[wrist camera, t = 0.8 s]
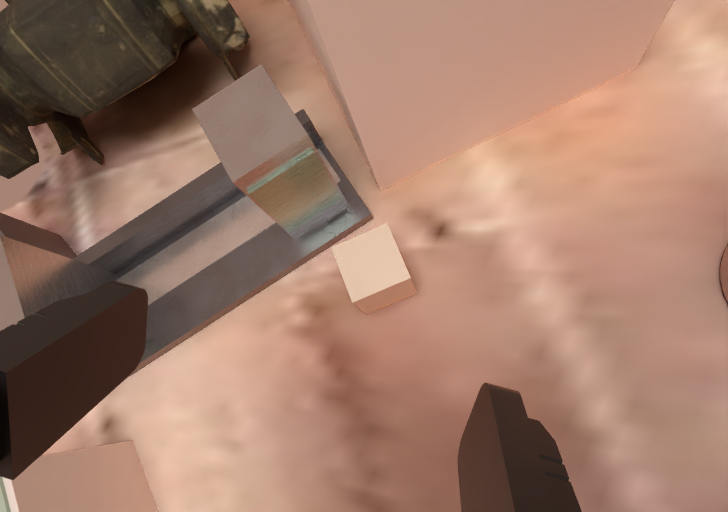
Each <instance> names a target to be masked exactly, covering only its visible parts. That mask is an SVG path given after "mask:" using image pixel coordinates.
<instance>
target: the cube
mask: <svg viewBox="0 0 728 512" xmlns="http://www.w3.org/2000/svg"><path fill="white" fill-rule="evenodd" d="M288 2H289V4H290V6H291V8H292V10H293V12H294V14H295V16H296V18H297V20H298V22H299V24H300V26H301V28H302V30H303V32H304V35H305V37H306V39H307V41H308V43H309V45H310V47H311V49H312V51H313V53H314V55H315V57H316V59H317V61H318V63H319V65H320V68H321V70H322V72H323V74H324V76H325V78H326V80H327V82H328V84H329V86H330V88H331V90H332V92H333V94H334V96H335V98H336V101H337V103H338V105H339V107H340V109H341V111H342V113H343V115H344V117H345V119H346V121H347V123H348V125H349V127H350V129H351V131H352V134H353V136H354V138H355V140H356V142H357V144H358V146H359V148H360V150H361V152H362V154H363V156H364V158H365V160H366V162H367V164H368V167H369V169H370V171H371V173H372V175H373V177H374V179H375V181H376V183H377V185H378V187H379V189H380V191H382V190H384V189H386V188H388V187H390V186H393V185H395V184H397V183H399V182H401V181H403V180H405V179H407V178H409V177H411V176H414V175H416V174H418V173H420V172H422V171H424V170H426V169H428V168H430V167H432V166H434V165H437V164H439V163H441V162H443V161H445V160H447V159H449V158H451V157H453V156H455V155H457V154H460V153H462V152H464V151H466V150H468V149H470V148H472V147H474V146H476V145H478V144H480V143H483V142H485V141H487V140H489V139H491V138H493V137H495V136H497V135H499V134H501V133H503V132H506V131H508V130H510V129H512V128H514V127H516V126H518V125H520V124H522V123H524V122H526V121H529V120H531V119H533V118H535V117H537V116H539V115H541V114H543V113H545V112H547V111H550V110H552V109H554V108H556V107H558V106H560V105H562V104H564V103H566V102H568V101H570V100H573V99H575V98H577V97H579V96H581V95H583V94H585V93H587V92H589V91H591V90H593V89H596V88H598V87H600V86H602V85H604V84H606V83H608V82H610V81H612V80H614V79H616V78H619V77H621V76H623V75H625V74H627V73H629V72H631V71H633V70H635V69H636V67H637V65H638V64H639V62H640V60H641V58H642V57H643V55H644V53H645V51H646V50H647V48H648V46H649V44H650V43H651V41H652V39H653V37H654V36H655V34H656V32H657V30H658V29H659V27H660V25H661V23H662V22H663V20H664V18H665V16H666V14H667V13H668V11H669V9H670V7H671V6H672V4H673V2H674V0H288Z"/></svg>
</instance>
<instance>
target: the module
mask: <svg viewBox="0 0 728 512" xmlns="http://www.w3.org/2000/svg"><path fill="white" fill-rule="evenodd" d="M0 512H158V510H157V508H156V505H155V502H154V499H153V496H152V494H151V491H150V488H149V485H148V482H147V480H146V477H145V474H144V471H143V469H142V466H141V463H140V460H139V457H138V455H137V452H136V449H135V446H134V443H133V441H132V440H131V441H125V442H119V443H113V444H107V445H101V446H95V447H89V448H83V449H77V450H71V451H65V452H59V453H53V454H47V455H41V456H40V457H39V458H38V459H36V460H35V461H34V462H33V463H32V464H31V465H30V466H29V467H28V468H26V469H25V470H24V471H23V472H22V473H21V474H20V475H19V476H18V477H17V478H15V479H14V480H10V479H7V478H4V477H0Z"/></svg>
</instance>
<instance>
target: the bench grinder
mask: <svg viewBox="0 0 728 512" xmlns="http://www.w3.org/2000/svg"><path fill="white" fill-rule="evenodd" d="M5 1H6V2H7V3H8V4H9V5H8V6H7V7H6V8H5V9H3V10H2V11H1V12H0V175H1V176H3V177H6V178H7V179H10V178H12V177H14V176H15V175H17V174H19V173H20V172H22V171H23V170H25V169H27V168H28V167H30V166H32V165H34V164H36V163H38V162H39V156H38V152H37V149H36V147H35V144H34V142H33V139H32V137H31V134H30V132H29V130H28V126H36V125H40V124H43V123H47V124H48V126H49V128H50V129H51V131H52V133H53V134H54V136H55V138H56V140H57V142H58V145H59V147H60V149H61V152H62V153H60V154H62V155H64V154H66V153H67V152H69V151H71V150H72V149H74V148H76V147H78V146H79V147H80V148H81V149H82V150H83V151H84V152H85V153H87V154H88V155H89V156H90V157H91V158H92V159H93V160H94V161H96V162H98V163H100V164H101V163H102V159H103V155H102V153H101V152H99V151H98V150H97V149H96V148H95V146H94V145H93V144H92V142H91V141H90V139H89V137H88V134H87V132H86V129H85V127H84V125H83V123H82V121H81V119H80V118H84V117H86V116H87V115H89V114H91V113H93V112H95V113H97V112H98V111H100V110H101V109H103V108H105V107H106V106H108V105H110V104H111V103H113V102H115V101H116V100H118V99H120V98H121V97H123V96H125V95H126V94H128V93H130V92H131V91H133V90H135V89H136V88H138V87H140V86H141V85H143V84H145V83H146V82H148V81H150V80H151V79H153V78H154V77H155V76H157V75H158V74H160V73H161V72H162V71H164V70H165V69H167V68H168V67H169V66H171V65H172V64H173V63H175V62H176V61H177V58H178V55H179V52H180V48H181V44H182V42H184V41H186V40H187V39H189V38H191V37H192V36H194V35H195V33H196V31H197V33H198V34H199V36H200V37H201V38H202V40H203V41H204V43H205V44H206V45H207V47H208V48H209V49H210V50H211V52H212V53H213V54H215V55H216V56H218V57H221V59H222V60H223V62H224V64H225V65H226V67H227V69H228V70H229V72H230V74H231V75H232V77H233V78H234V80H235V81H236V80H237V78H238V76H237V74H236V73H235V71H234V69H233V67H232V66H231V64H230V62H229V61H228V57H227V55H228V54H229V53H230V52H232V51H233V50H234V51H240V50H242V49H244V44H246V43H247V42H248V38H249V34H248V33H247V31H246V29H245V27H244V25H243V24H242V22H241V20H240V19H239V17H238V15H237V14H236V12H235V11H234V9H233V8H232V6H231V4H230V3H229V1H228V0H5ZM88 146H89V147H90V148H91V149H92V150H93V151H94V152H95V153H96V154H98V156H99V157H98V156H97V155H96V154H95V153H94V152H93V151H92V150H91V149H90V148H89V147H88Z"/></svg>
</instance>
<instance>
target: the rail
mask: <svg viewBox="0 0 728 512" xmlns="http://www.w3.org/2000/svg"><path fill="white" fill-rule="evenodd" d="M192 110H193V112H194V114H195V116H196V117H197V119H198V121H199V123H200V125H201V126H202V128H203V130H204V132H205V134H206V135H207V137H208V139H209V141H210V143H211V144H212V146H213V148H214V150H215V152H216V154H217V155H218V157H219V159H220V161H221V163H219V164H218V165H216V166H215V167H213V168H212V169H210V170H209V171H207V172H205V173H204V174H202V175H201V176H199V177H198V178H196V179H195V180H193V181H192V182H190V183H189V184H187V185H185V186H184V187H182V188H181V189H179V190H178V191H176V192H175V193H173V194H172V195H170V196H169V197H167V198H166V199H164V200H162V201H161V202H159V203H158V204H156V205H155V206H153V207H152V208H150V209H149V210H147V211H146V212H144V213H143V214H141V215H139V216H138V217H136V218H135V219H133V220H132V221H130V222H129V223H127V224H126V225H124V226H123V227H121V228H119V229H118V230H116V231H115V232H113V233H112V234H110V235H109V236H107V237H106V238H104V239H103V240H101V241H100V242H98V243H96V244H95V245H93V246H92V247H90V248H89V249H87V250H86V251H84V252H83V253H81V254H80V255H78V256H77V257H75V258H73V259H71V258H68V257H64V256H61V255H58V254H55V253H52V252H49V251H46V250H43V249H40V248H37V247H34V246H31V245H28V244H25V243H22V242H19V241H16V240H13V239H10V238H7V237H4V236H1V235H0V331H1V330H3V329H5V328H7V327H9V326H10V325H12V324H15V325H16V324H17V323H18V321H20V320H22V319H24V318H25V317H27V316H29V315H34V314H35V312H37V311H39V310H41V309H42V308H44V307H46V306H48V305H50V304H52V303H54V302H56V301H59V300H63V299H67V298H70V297H74V296H78V295H81V294H83V295H84V294H86V293H88V292H90V291H92V290H94V289H95V288H97V287H99V286H101V285H103V284H104V283H106V282H108V281H117V282H121V283H124V284H128V285H132V286H136V287H139V288H143V289H145V290H146V292H147V294H148V310H147V327H146V343H145V350H144V354H143V356H142V359H141V361H140V363H139V365H138V366H137V368H136V369H135V370H134V371H133V372H132V373H131V374H130V375H132V374H133V373H135V372H136V371H138V370H139V369H141V368H142V367H144V366H146V365H147V364H149V363H150V362H152V361H153V360H155V359H156V358H158V357H160V356H161V355H163V354H164V353H166V352H167V351H169V350H170V349H172V348H173V347H175V346H177V345H178V344H180V343H181V342H183V341H184V340H186V339H187V338H189V337H190V336H192V335H194V334H195V333H197V332H198V331H200V330H201V329H203V328H204V327H206V326H207V325H209V324H211V323H212V322H214V321H215V320H217V319H218V318H220V317H221V316H223V315H225V314H226V313H228V312H229V311H231V310H232V309H234V308H235V307H237V306H238V305H240V304H242V303H243V302H245V301H246V300H248V299H249V298H251V297H252V296H254V295H255V294H257V293H259V292H260V291H262V290H263V289H265V288H266V287H268V286H269V285H271V284H272V283H274V282H276V281H277V280H279V279H280V278H282V277H283V276H285V275H286V274H288V273H290V272H291V271H293V270H294V269H296V268H297V267H299V266H300V265H302V264H303V263H305V262H307V261H308V260H310V259H311V258H313V257H314V256H316V255H317V254H319V253H320V252H322V251H324V250H325V249H327V248H328V247H330V246H331V245H333V244H334V243H336V242H337V241H339V240H341V239H342V238H344V237H345V236H347V235H348V234H350V233H351V232H353V231H354V230H356V229H358V228H359V227H361V226H362V225H364V224H365V223H367V222H368V221H370V220H372V219H373V217H372V215H371V213H370V212H369V210H368V209H367V207H366V206H365V204H364V203H363V201H362V200H361V198H360V197H359V195H358V194H357V192H356V191H355V189H354V188H353V186H352V185H351V183H350V182H349V181H348V179H347V178H346V176H345V175H344V173H343V172H342V170H341V169H340V167H339V166H338V164H337V163H336V161H335V160H334V158H333V157H332V155H331V154H330V152H329V151H328V149H327V148H326V146H325V145H324V143H323V142H322V140H321V138H320V137H319V135H318V133H317V131H316V129H315V127H314V125H313V124H312V122H311V120H310V118H309V117H308V115H307V114H306V113H305V111H304V110H303V109H302V110H301V111H299V112H298V113H296V114H294V113H293V111H292V110H291V108H290V107H289V105H288V104H287V102H286V100H285V99H284V97H283V96H282V94H281V93H280V91H279V90H278V88H277V87H276V85H275V84H274V82H273V81H272V79H271V78H270V76H269V75H268V73H267V72H266V70H265V69H264V67H263V66H262V64H260V65H259V66H257V67H256V68H254V69H253V70H251V71H250V72H248V73H246V74H245V75H243V76H242V77H240V78H239V79H237V80H236V81H234V82H233V83H231V84H230V85H228V86H227V87H225V88H224V89H222V90H220V91H219V92H217V93H216V94H214V95H213V96H211V97H210V98H208V99H207V100H205V101H204V102H202V103H201V104H199V105H198V106H196V107H194V108H193V109H192ZM130 375H129V376H130ZM129 376H128V377H129Z"/></svg>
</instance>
